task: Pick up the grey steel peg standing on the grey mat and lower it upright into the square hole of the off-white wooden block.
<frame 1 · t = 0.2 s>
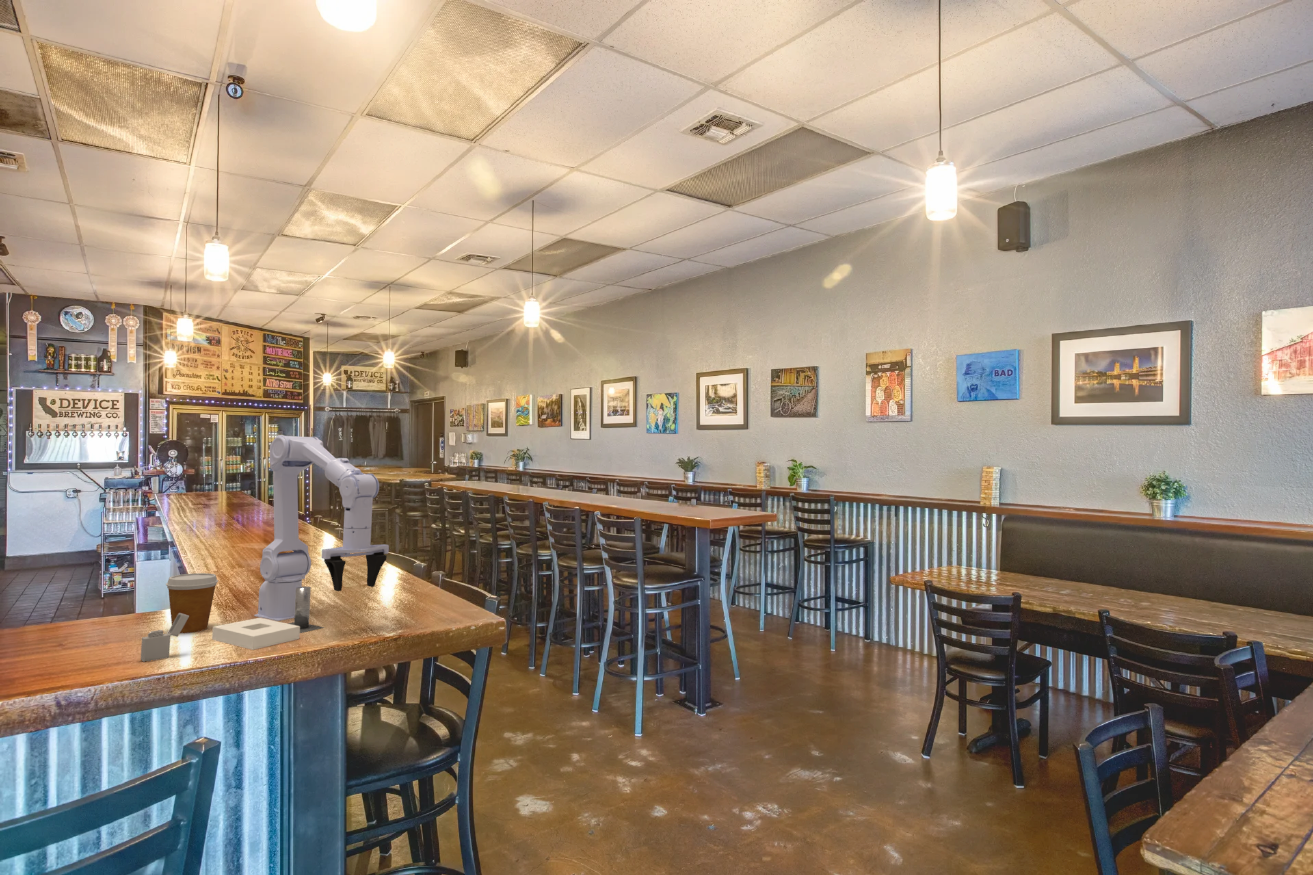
hand: (354, 588, 151), 10 cm above the bar counter, fingers open, 7 cm apart
lighter: (164, 658, 129), on the bar counter
block: (256, 640, 142), on the bar counter
peg: (301, 627, 152), resting on mat
mat: (294, 629, 152), on the bar counter
disposable coffee cup: (189, 632, 148), on the bar counter
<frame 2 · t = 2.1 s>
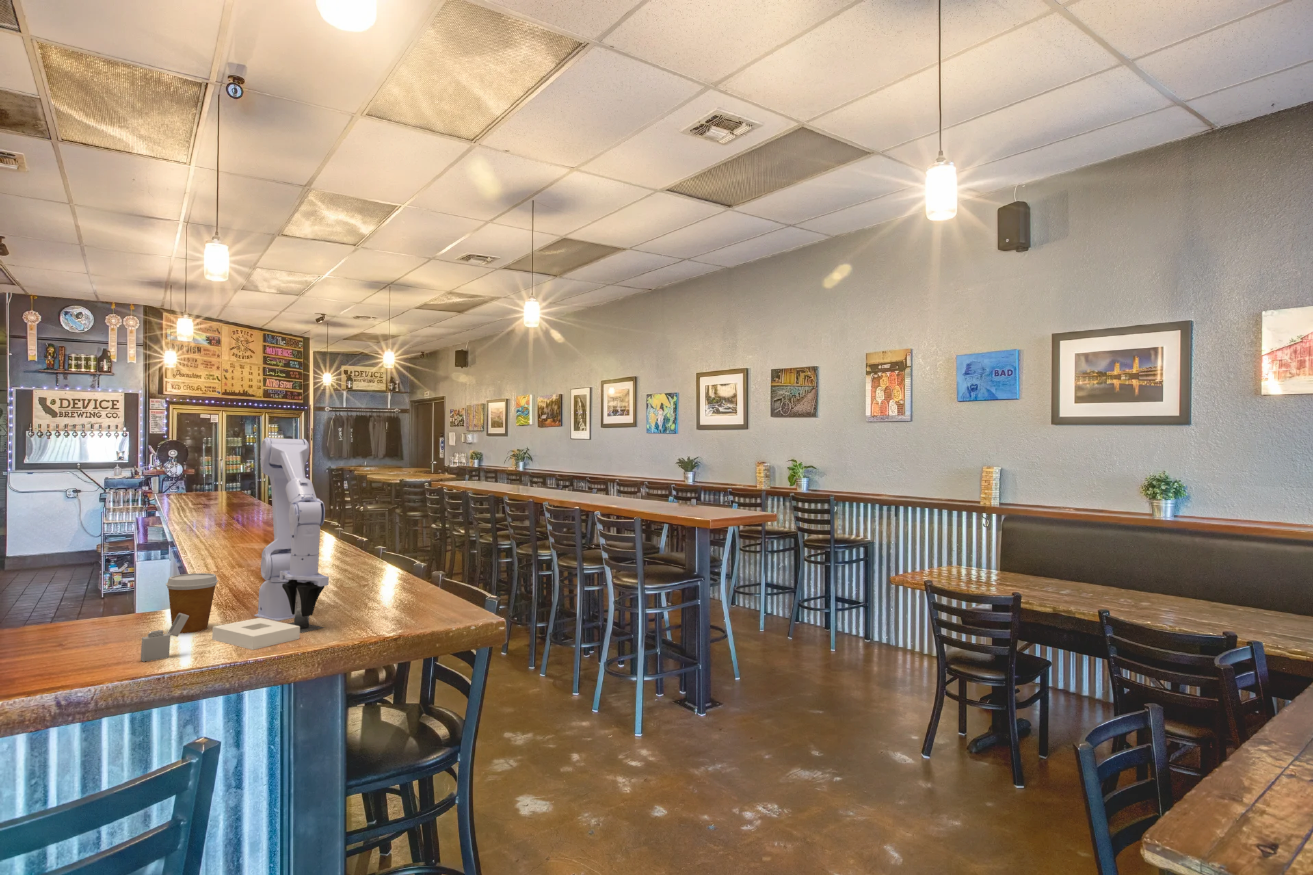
hand: (302, 614, 152), 3 cm above the bar counter, fingers closed on peg, 3 cm apart
peg: (301, 627, 152), resting on mat, touching gripper
everything else where it was.
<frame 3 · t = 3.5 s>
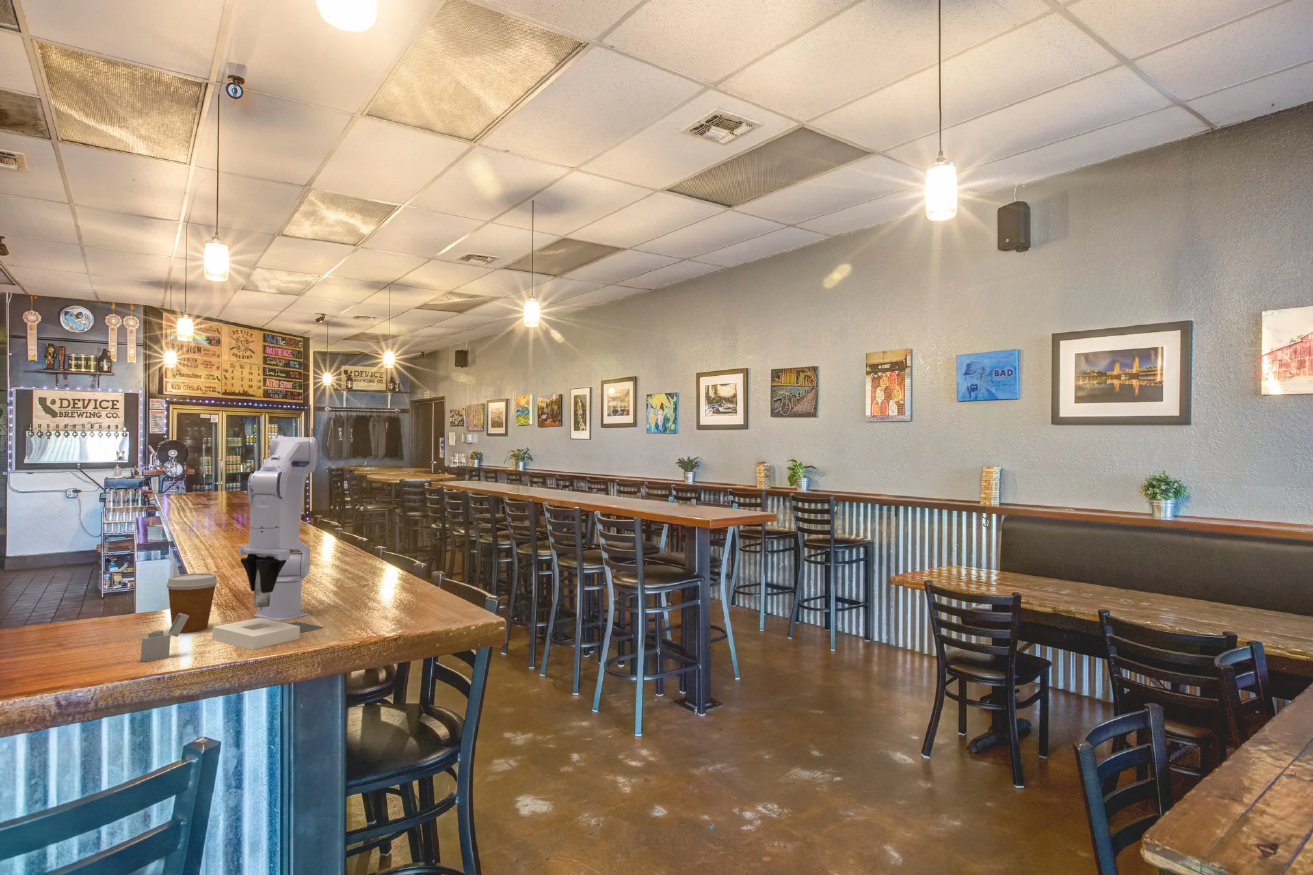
hand: (261, 591, 143), 10 cm above the bar counter, fingers closed on peg, 3 cm apart
peg: (261, 606, 143), point 7 cm above the bar counter, touching gripper
everything else where it was.
when the fingers open (4 cm above the bar counter, at t = 4.9 s): peg stays where it is, resting in block.
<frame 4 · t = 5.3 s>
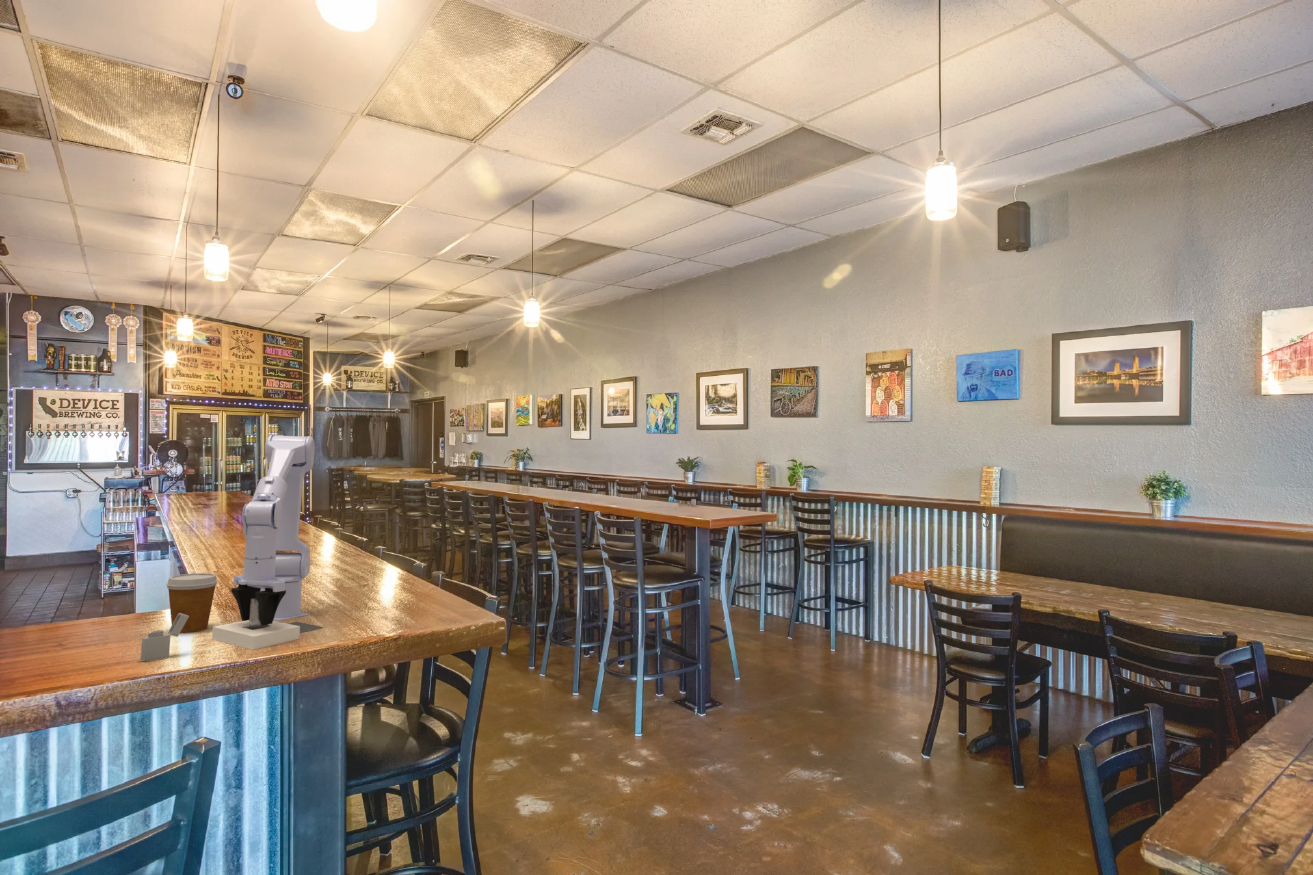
hand: (256, 622, 142), 4 cm above the bar counter, fingers open, 6 cm apart
peg: (256, 640, 142), resting in block
everything else where it was.
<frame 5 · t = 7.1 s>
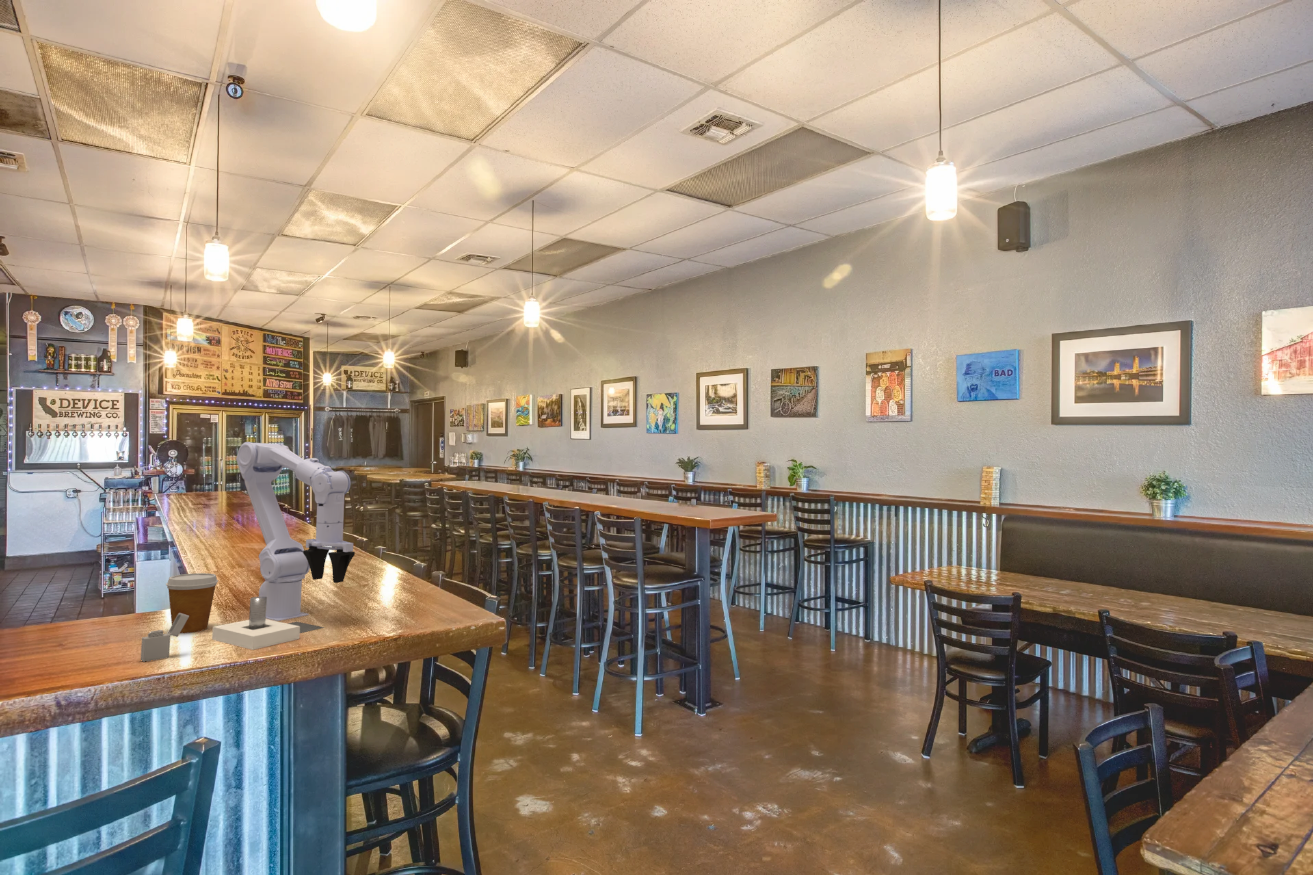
hand: (327, 580, 158), 10 cm above the bar counter, fingers open, 7 cm apart
nothing on the bar counter moved.
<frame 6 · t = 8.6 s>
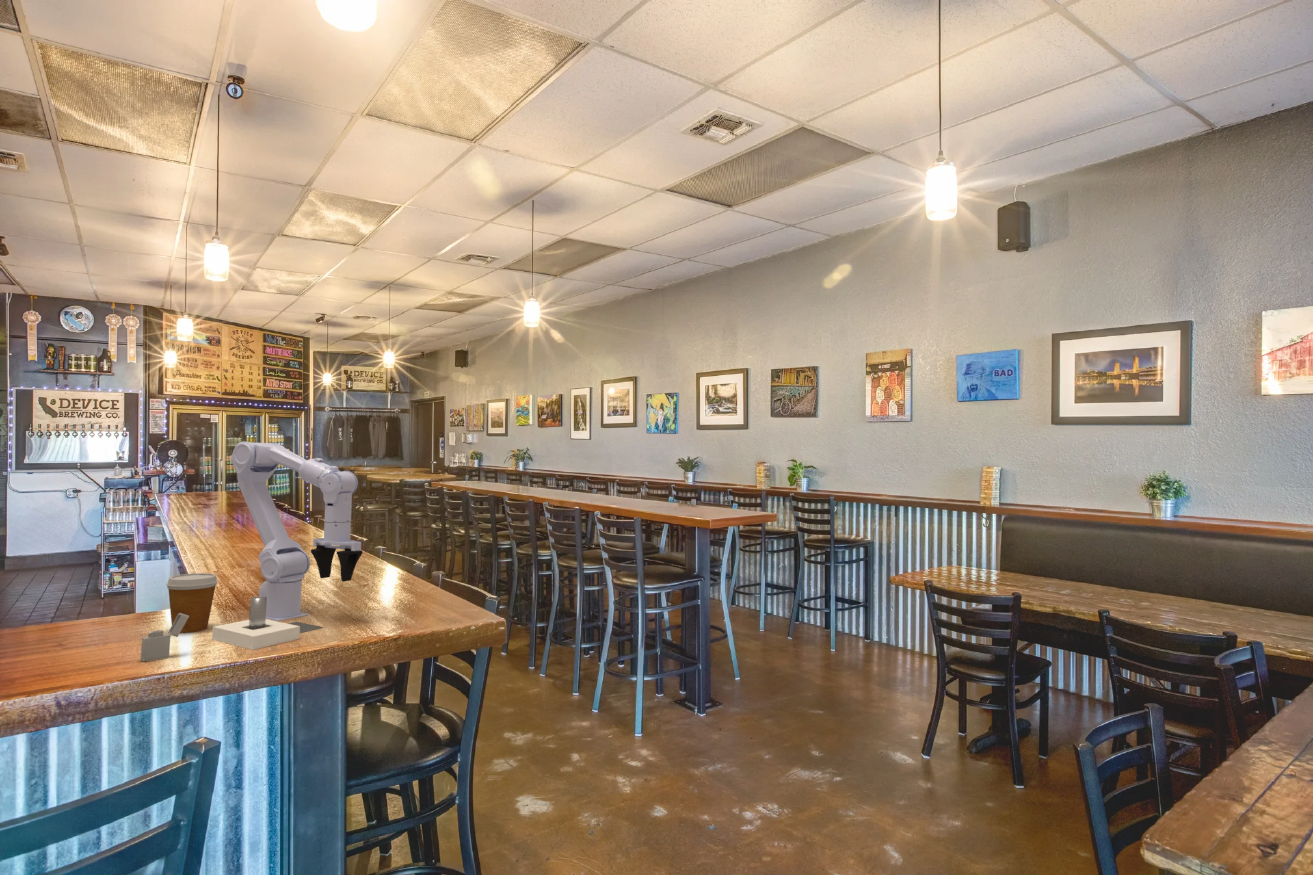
hand: (335, 579, 160), 10 cm above the bar counter, fingers open, 7 cm apart
nothing on the bar counter moved.
at the end: peg 0.1 cm off-centre on the block, point 0.0 cm above the block's base; peg tilted 0°; the gripper is holding nothing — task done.
